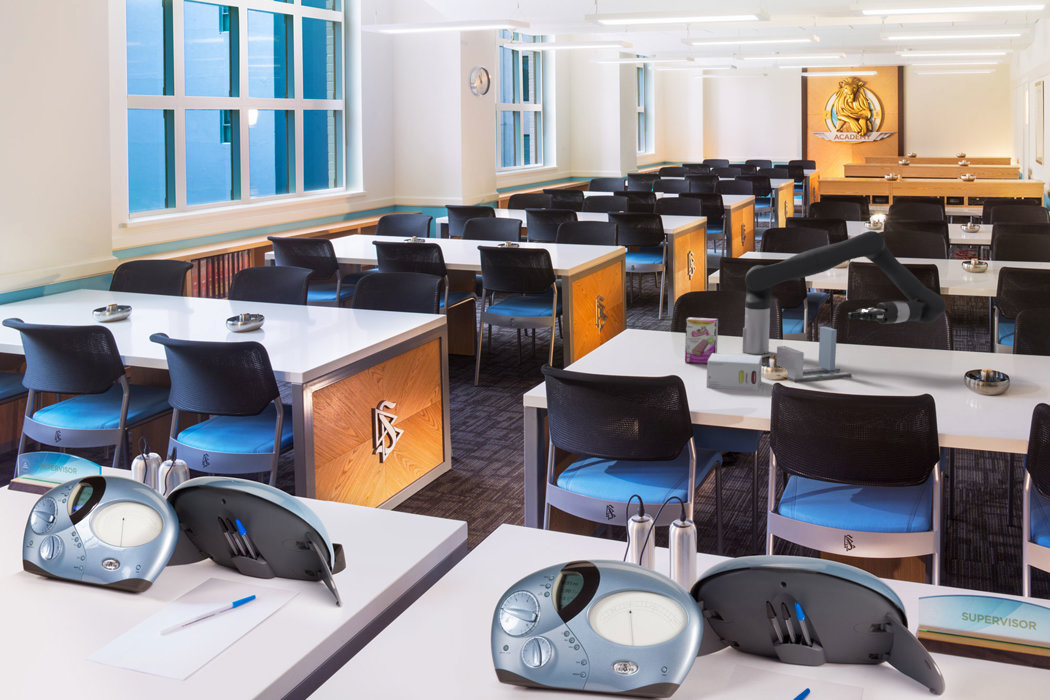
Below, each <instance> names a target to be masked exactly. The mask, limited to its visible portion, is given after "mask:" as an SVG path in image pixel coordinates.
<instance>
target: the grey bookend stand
mask: <svg viewBox="0 0 1050 700" xmlns="http://www.w3.org/2000/svg"><path fill="white" fill-rule="evenodd" d="M804 354H805V353H804V351H801V350H798V349H794V348H792V347H789V346H786V345H782V346H781V345H780V346H776V365H777V366H780V367H782V368H785V369H786V370H787V372H788V374H787V379H786V380H788V381H790V382H793V383H800V382H801V383H802V382H812V381H811V380H814V381H820V380H819V379H825V380H833V379H834V378H836V379H844V378H843V377H847V378H853V377H852V373H850V372H847V371H844V370H841V368H840V367H835V370H834V371H837V372H839V373H835V372H832V370H827V369H825V368H822V367H818V368H808V369H804ZM834 380H835V379H834Z"/></svg>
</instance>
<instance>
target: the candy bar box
mask: <svg viewBox="0 0 1050 700" xmlns="http://www.w3.org/2000/svg"><path fill="white" fill-rule="evenodd" d="M685 320H686V321H685V345H684V346H685V349H684V350H685V351H684V352H685V354H684V355H685V356H684V363H686V364H697V365H699V364H700V365H701V364H702V365H707V362H708V359H709V357H710V356H711V354H712V353H716V354H718V331H719V329H718V327H719V319H718V318H707V317H692V316H691V317H689V316H688V317H687V318H686V319H685Z"/></svg>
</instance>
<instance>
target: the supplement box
mask: <svg viewBox="0 0 1050 700" xmlns="http://www.w3.org/2000/svg"><path fill="white" fill-rule="evenodd" d="M762 363H763V356H762V355H755V354H751V355H750V354H748V355H747V354H733V353H729V354H728V353H717V354H716V353H712V354H711V356H710V357H709V359H708V362H707V364H706V388H714V389H715V388H716V389H733V390H734V389H735V390H749V391H750V390H751V391H752V390H753V391H758V390H759V388H760V385H761V383H762V370H763V369H762V367H763V366H762V365H763V364H762Z"/></svg>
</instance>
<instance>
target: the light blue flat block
mask: <svg viewBox="0 0 1050 700" xmlns="http://www.w3.org/2000/svg"><path fill="white" fill-rule="evenodd" d="M837 331H838V330H837V329H835V328H832V327H828V326H820V327H819V344H818V345H819V347H818V368H825V369H827V370H832V372H835V373H839V372H837V371H834V370H835V368H836V353H837V352H836V351H837Z"/></svg>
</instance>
